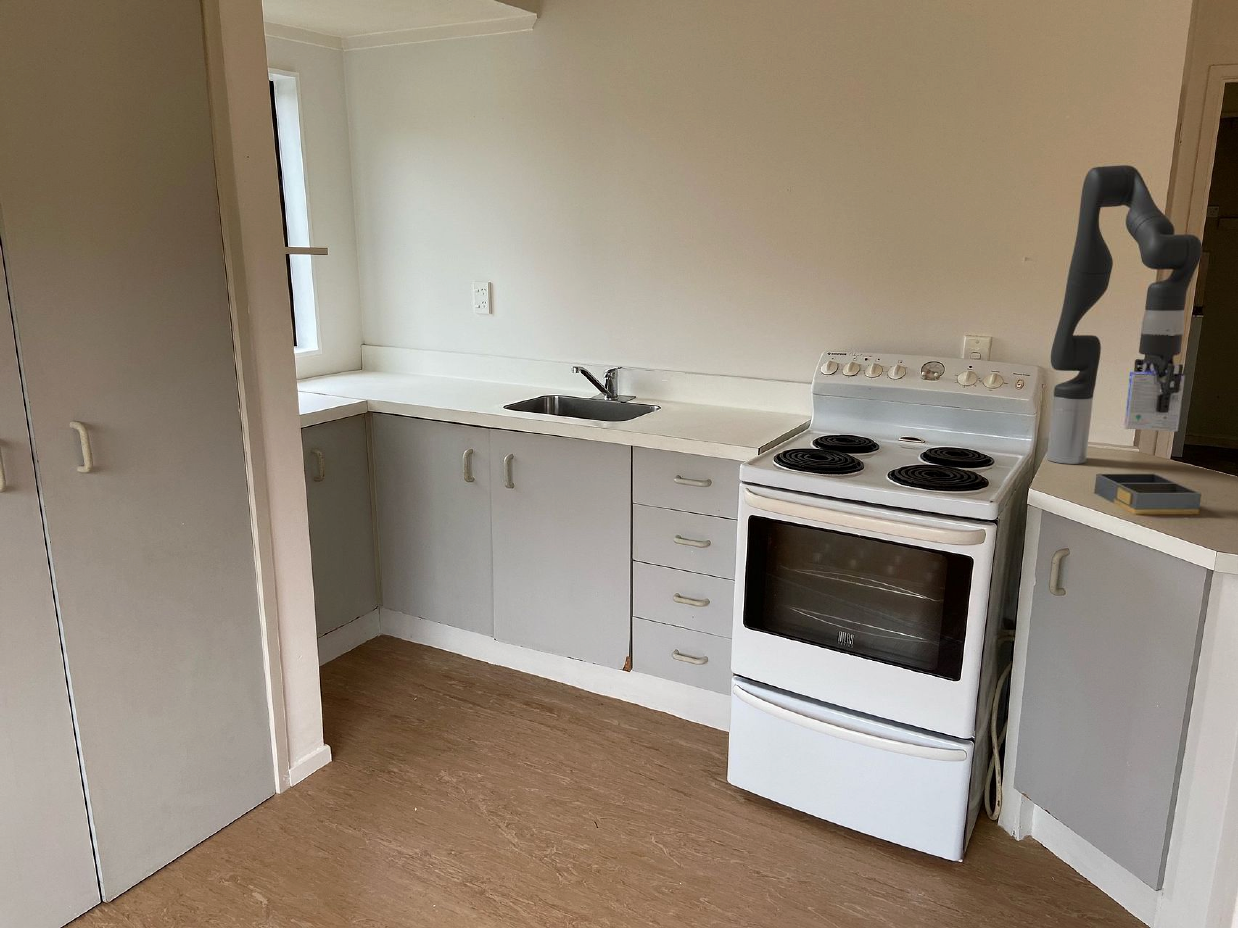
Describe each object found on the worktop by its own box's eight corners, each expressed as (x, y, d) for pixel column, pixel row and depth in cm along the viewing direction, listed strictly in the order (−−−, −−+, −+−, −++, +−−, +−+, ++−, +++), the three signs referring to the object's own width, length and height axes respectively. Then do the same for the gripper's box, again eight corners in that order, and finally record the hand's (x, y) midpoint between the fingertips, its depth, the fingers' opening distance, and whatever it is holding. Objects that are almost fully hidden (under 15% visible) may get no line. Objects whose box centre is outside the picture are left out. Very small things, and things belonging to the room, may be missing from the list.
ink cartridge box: (1174, 427, 183) (1183, 361, 180) (1179, 432, 179) (1188, 364, 175) (1122, 425, 187) (1130, 360, 184) (1125, 429, 183) (1133, 362, 179)
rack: (1092, 492, 195) (1095, 473, 194) (1152, 492, 194) (1154, 473, 193) (1133, 514, 178) (1135, 493, 177) (1198, 514, 177) (1201, 493, 176)
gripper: (1125, 330, 186) (1117, 405, 189) (1163, 334, 172) (1153, 415, 175) (1160, 330, 185) (1151, 405, 189) (1201, 333, 171) (1190, 414, 175)
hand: (1152, 409), depth 182 cm, fingers closed on ink cartridge box, 6 cm apart
